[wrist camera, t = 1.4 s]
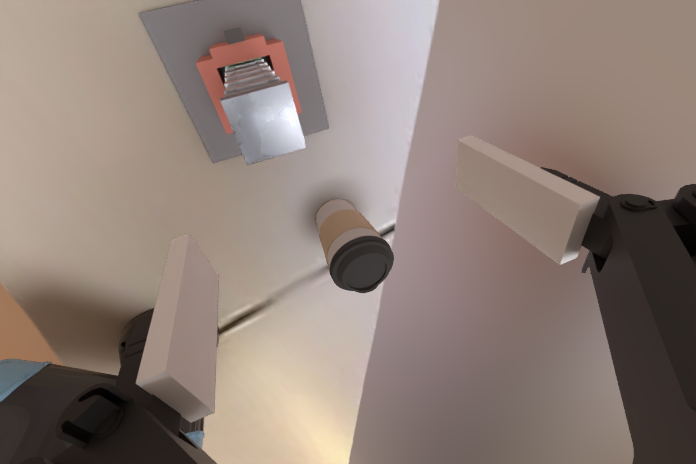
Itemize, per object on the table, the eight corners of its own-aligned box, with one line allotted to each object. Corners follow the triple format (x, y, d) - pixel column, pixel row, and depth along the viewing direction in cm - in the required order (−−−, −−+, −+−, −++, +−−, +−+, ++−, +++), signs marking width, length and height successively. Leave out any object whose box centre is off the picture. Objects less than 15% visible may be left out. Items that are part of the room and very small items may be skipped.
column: (239, 105, 36) (247, 165, 21) (223, 64, 33) (220, 101, 19) (274, 95, 37) (306, 147, 22) (261, 55, 34) (288, 82, 19)
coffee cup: (306, 198, 47) (332, 256, 36) (360, 188, 50) (401, 240, 38) (312, 243, 53) (336, 307, 41) (361, 232, 55) (397, 290, 43)
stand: (213, 160, 40) (211, 183, 34) (140, 13, 30) (120, 12, 25) (327, 126, 42) (342, 142, 37) (294, -21, 32) (308, -29, 27)
